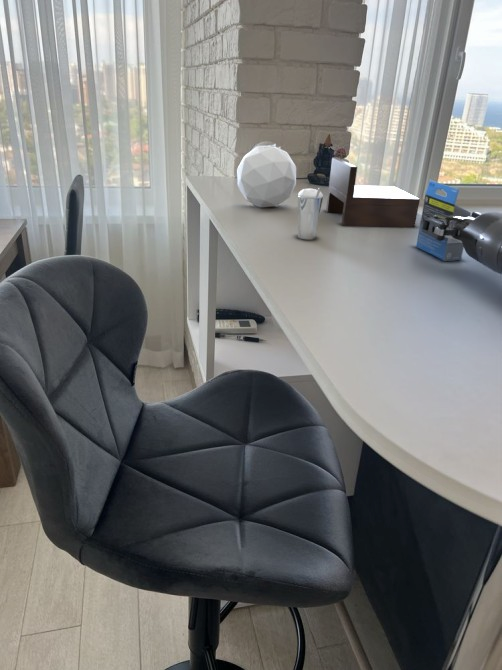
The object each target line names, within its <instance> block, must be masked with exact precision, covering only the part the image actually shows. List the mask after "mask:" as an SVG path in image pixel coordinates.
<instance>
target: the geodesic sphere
mask: <svg viewBox="0 0 502 670" xmlns="http://www.w3.org/2000/svg"><path fill="white" fill-rule="evenodd" d="M276 145H277V144H276V143H274V144H273V143H272V144H269V145H257V146H255V147H254V148H252V149H251V150H250V151H249V152H247V153H246V154H245V155H244V156H243V157H242V159H241V161H240V163H239V165H238V167H237V169H236V178H237V181H236V182H237V188H238V190H239V191H240V192H241V194H242V196H243V197H244V198H245V200H246V202H249V203H251V204H252V205H254V206H256V207H257V208H270V207H277V206H279V205H280V204H281V203H283V202H285V201H286V200H288V199H290V197H291V195H292V194H293V191H294V189H295V187H296V186H297V166H296V164H295V163H294V160H292V157H291V156H290V154H289V153H288V152H287V151H286V150H284V149H282V145H280V146H278V147H277V146H276Z"/></svg>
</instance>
